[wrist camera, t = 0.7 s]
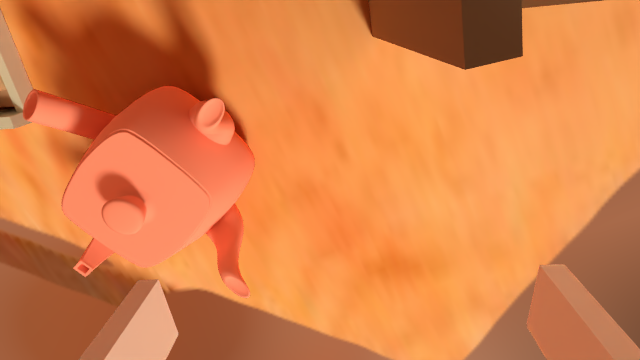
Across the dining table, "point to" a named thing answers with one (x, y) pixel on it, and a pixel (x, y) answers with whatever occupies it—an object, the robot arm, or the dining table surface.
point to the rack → (11, 81)
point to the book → (455, 28)
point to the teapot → (154, 177)
